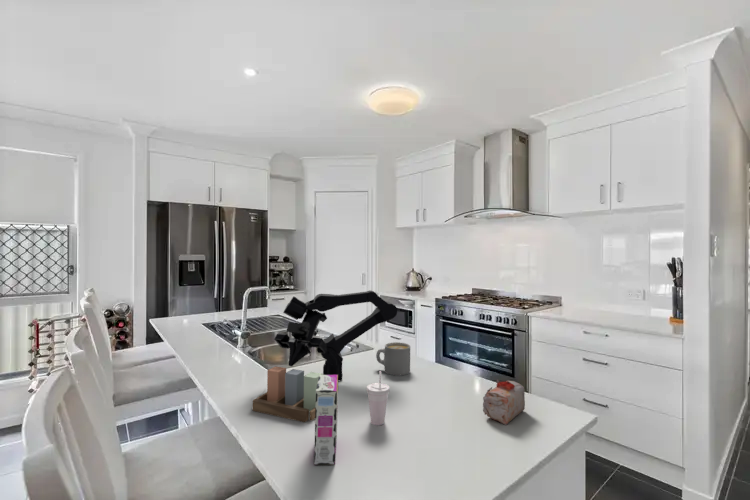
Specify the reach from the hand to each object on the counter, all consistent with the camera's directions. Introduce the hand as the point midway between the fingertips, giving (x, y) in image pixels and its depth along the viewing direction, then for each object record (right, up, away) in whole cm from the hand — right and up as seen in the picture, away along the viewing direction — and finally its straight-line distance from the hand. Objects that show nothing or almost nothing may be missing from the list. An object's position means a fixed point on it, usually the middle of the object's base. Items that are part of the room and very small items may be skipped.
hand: (290, 365), depth 119 cm
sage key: (+10, -9, -12) cm, 18 cm away
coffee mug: (+35, -9, +23) cm, 43 cm away
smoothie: (+29, -9, -19) cm, 36 cm away
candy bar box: (+17, -9, -34) cm, 39 cm away
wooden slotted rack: (+2, -9, -12) cm, 15 cm away
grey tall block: (+4, -9, -9) cm, 13 cm away
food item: (+66, -10, -14) cm, 68 cm away
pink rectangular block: (-2, -9, -7) cm, 12 cm away
